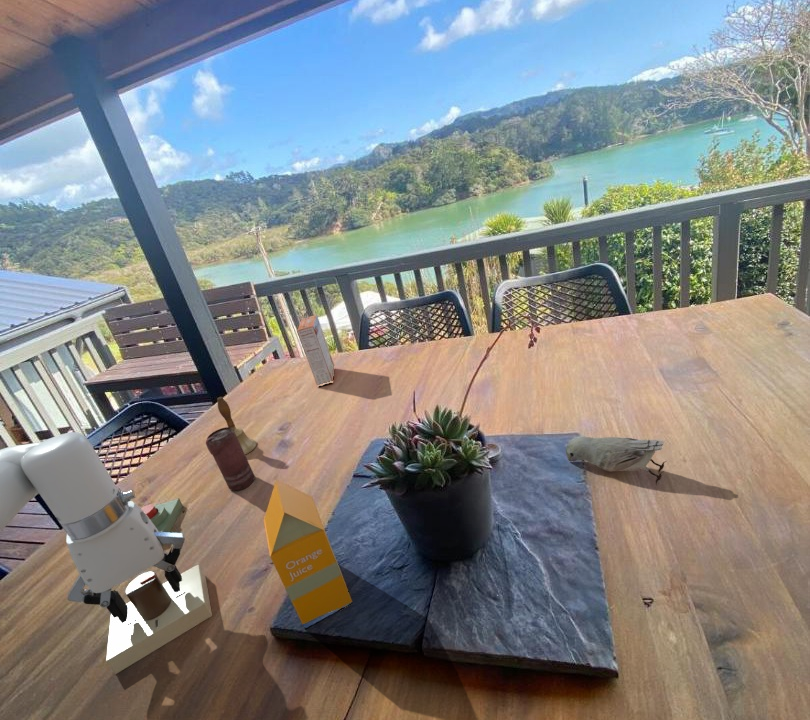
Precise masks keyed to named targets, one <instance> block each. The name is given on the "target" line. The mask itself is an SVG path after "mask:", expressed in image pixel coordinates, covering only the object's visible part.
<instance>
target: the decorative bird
mask: <svg viewBox="0 0 810 720" xmlns="http://www.w3.org/2000/svg"><path fill="white" fill-rule="evenodd" d="M664 443H665V441H664V440H658V439H637V438H632V437H619V436H607V437H591V436H581V435H580V436H575V437H573V438H571V439H570V440H569V441H568V442H567V445H566V448H565V454H566V458H567V460H568V462H569V461H573V462H576V461H585V462H587V463H589V464H591V465H593V466H596V467H597V468H600V469H602V470H603V471H606V472H618V471H620V472H627V471H633V472H634V471H636V472H637V471H640V470H644V471H646V472H648V473H649V474H650V475H652V476H654V477H656V479H655V485H656V486H657V485H658V482H659V481H660V480H661V479H662V476H663V475H662V474H663V473H664V472H665V471H662V470H663V469H664V467H665V463H666V462H667V460H665V461H663V462H662V464H659V463H657V462H655V461H654V460H653V459H652V458H653V456H654V455H655V453H656V451H661V450H662V449H663V446H664ZM650 462H651V463H652V464H653V465H655V466H657V467H659V468H658V471H657V473H659V474H656V473H654V472H653V471H652V470H651V469H649V467H648V464H649V463H650Z"/></svg>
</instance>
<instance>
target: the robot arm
mask: <svg viewBox="0 0 810 720" xmlns="http://www.w3.org/2000/svg"><path fill="white" fill-rule="evenodd" d="M38 495H40V497H41V499H42V500H43V501H44V503H45V504H46V506H47V507H48V509H49V510H50V511H51V512H52V515H54V517H55V518H56V520H57V522H58V523H59V524H60V526H61V527H62V529H63V530H64V531H65V534H66V536H65V542H66V546H67V549H68V551H69V554H70V557H71V559H72V561H73V564H74V566H75V568H76V570H77V572H78V575H77V578H76V579H75V581H74V583H73V584H72V585H71V587H70V589H69V591H68V593H67V598H66V599H67V601H68V602H76V603H84V604H85V605H94V606H95V605H96V606H97V605H98V606H100V608H102V609H103V608H106V609H107V610H108V612H109V613H110V615H111V614H112V616H113V617H114V618H116V617H118V619H119V620H120V621H121V623H124V622H125V621H126V620H127V617H128V606H127V603H126V601H125V600H124V598H123V597H122V596H121V594H120V593H119V592H118V590H116V589H114V590H112V589H113V588H114V587H116V586H119V585H120V584H122V583H124V582H126V581H128V580H130V579H132V578H135V576H136V577H137V576H138V575H140V574H142V573H144V572H146V571H147V570H148V569H150V568H152V567H155V568H157V569H160V570H162V571H164V577H165V579H166V582H167V581H168V582H169V584H170V586H171V587H172V589H173V590H174V592H178V591H180V584H179V582H181V581H182V576H181V572H180V571H179V569H178V568H177V566H176V563H177V562H178V559H179V558H180V555H181V551H182V549H183V545H184V543H185V542H186V541H185V539H186V538H185V534H184V533H183V532H159V531H158V529H157V528H156V527H155V525H154V524H153V523H152V521H151V520H150V519H149V517H148V516H147V515H146V514H145V513H144V511H143V510H142V509H141V508H142V507H140V506H139V505H138V504H137V503H136V502H135V501H133V500H134V499H136V494H135V491H134V490H133V489H130V490H128V491H123V490H122V489H121V488H120V487H118V486H117V485H116V483H115V482H114V479H113V478H112V476H111V475H110V473H109V471H108V470H107V467H105V465H104V463H103V461H102V460H101V458H100V457H99V455H98V453H97V452H96V449H95V448H94V446H93V445H92V444H91V441H90V440H89V439H88V437H87V436H85V434H83V433H81V432H76V431H75V432H74V431H71V432H67V433H66V432H65V433H62V434H58V435H56V436H53V437H50V438H48V439H46V440H44V441H39V442H33V443H32V442H31V443H26V444H17V445H12V446H11V445H10V446H8V447H4V448H1V449H0V532H2V531H3V530H4V529H5V528H6V527H7V526H8V525H9V524H10V523H11V522H12V521H13V520H14V518H15V517H16V516H17V515H18V514H19V513H20V512H21V511H22V510H23V509H24V507H25V506H26V505H27V504H28V503H29V502H30V501H31V500H33V499H34V498H35V497H36V496H38ZM163 545H172V546H171V547H170V550H169V552H167V551H165V550H164V549H163ZM85 586H86V587H87V588H88V589H86V588H85Z"/></svg>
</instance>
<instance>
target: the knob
mask: <svg viewBox="0 0 810 720" xmlns="http://www.w3.org/2000/svg"><path fill="white" fill-rule="evenodd" d="M124 591H125V595H126V597H127V598H128V600H129V602H132V604H133V605H134V607H135V608H136V610H137V611H138V613H139V614H140V616H141V617H142V619H143V620H152V619H154V618H156V617H158V616H159V615H161V614H162V613H163V612H164V611H165V610H166V609H167V608H168V606H169V605H170V602H171V597H170V596H169V594H168V592H167V591H166V589H165V588H164V586H163V583H162V581H161V579H160V578H159V577H158V575H157V573H156V572H155V571H153V570H150V571H149V570H148V571H144V572H142V573H140V574H138V575H136V577H134V579H132V580H131V581H130V583H128V585H126V588H125V590H124Z"/></svg>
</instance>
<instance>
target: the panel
mask: <svg viewBox="0 0 810 720" xmlns="http://www.w3.org/2000/svg"><path fill="white" fill-rule="evenodd" d="M180 574H181V576H182V581H181V582H179V584H180V591H178V592H174V590H173V589H172V587H171V586H170V584H169V582H168V581H167V580H166V581H165V582H163V583H162V584H163V586H164V588H165V589H166V591H167V592H168V594H169V596H170V597H171V602H170V605H169V606H168V608H167V609H166V610H165V611H164V612H163V613H162V614H161V615H159V616H158V617H156V618H154V619H152V620H143V619H142V617H141V616H140V614H139V613H138V611H137V610H136V608H135V607H134V605H133V604H132V602H131V601H129V602H127V603H126V604H127V606H128V617H127V620H126V621H125V622H124V623H121V621H120V620H119V619H118V617H116V618H114V617H113V616H112V614H111V613H110V616H109V617H110V618H109V627H108V638H107V645H106V657H105V663H106V664H107V665H108V667H109V668H110V669H111V670H112V671H113V673H114V675H117V674H119V673H120V672H123V670H125V669H128V668H129V667H131V666H132V665H133V664H135V663H137V662H139V661H140V660H142V659H144V658H145V657H147V656H148V655H150V654H152V653H154V652H155V651H157V650H158V649H160V648H162V647H163V646H165V645H167V644H168V643H170V642H171V641H173V640H175V639H177V638H178V637H180V636H182V635H183V634H186V632H188V631H189V630H191V629H193V628H194V627H196V626H198V625H200V624H201V623H203V622H204V621H206V620H208V619H210V618H211V617H213V612H212V607H211V602H210V594H209V589H208V583H207V576H206V574H205V572H204V571H203V569H202V567H201V565H200V564H196V565H194V566H192V567H190V568H189V569H187V570H185V571H183V572H182V573H181V572H180Z"/></svg>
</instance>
